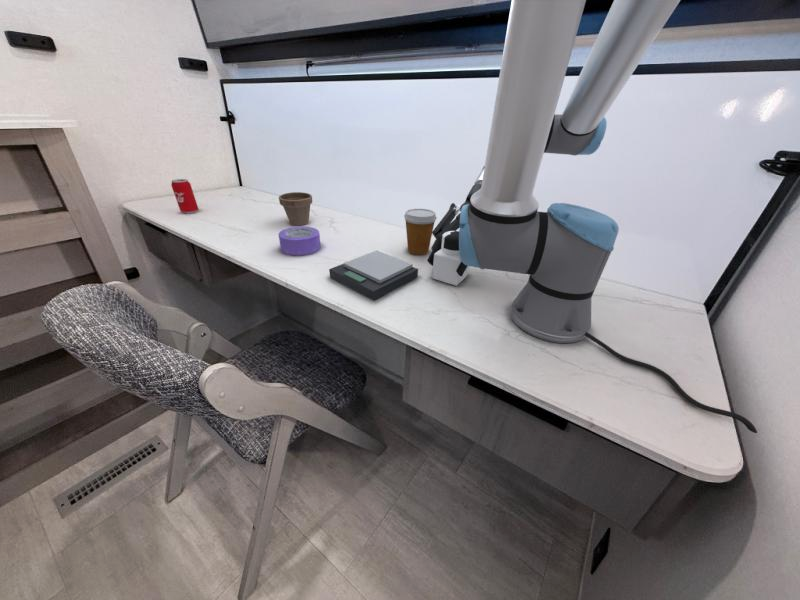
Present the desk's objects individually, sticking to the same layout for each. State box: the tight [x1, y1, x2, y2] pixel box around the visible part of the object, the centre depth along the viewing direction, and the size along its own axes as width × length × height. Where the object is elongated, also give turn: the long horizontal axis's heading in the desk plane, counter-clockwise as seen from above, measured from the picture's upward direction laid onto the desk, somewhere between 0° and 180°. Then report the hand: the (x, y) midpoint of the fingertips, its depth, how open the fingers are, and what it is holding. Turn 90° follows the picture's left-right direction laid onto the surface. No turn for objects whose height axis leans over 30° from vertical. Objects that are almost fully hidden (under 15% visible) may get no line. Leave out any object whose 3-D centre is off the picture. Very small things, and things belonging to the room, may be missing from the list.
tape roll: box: [277, 225, 322, 256], centre depth 93 cm, size 12×12×5 cm
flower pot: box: [278, 191, 313, 227], centre depth 111 cm, size 12×11×10 cm
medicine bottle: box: [431, 230, 470, 287], centre depth 77 cm, size 7×7×12 cm
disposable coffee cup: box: [403, 208, 438, 256], centre depth 91 cm, size 10×10×12 cm
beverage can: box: [170, 178, 199, 214], centre depth 119 cm, size 6×6×12 cm
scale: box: [328, 250, 419, 302], centre depth 78 cm, size 16×16×4 cm
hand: (444, 268), depth 76 cm, fingers closed on medicine bottle, 8 cm apart
